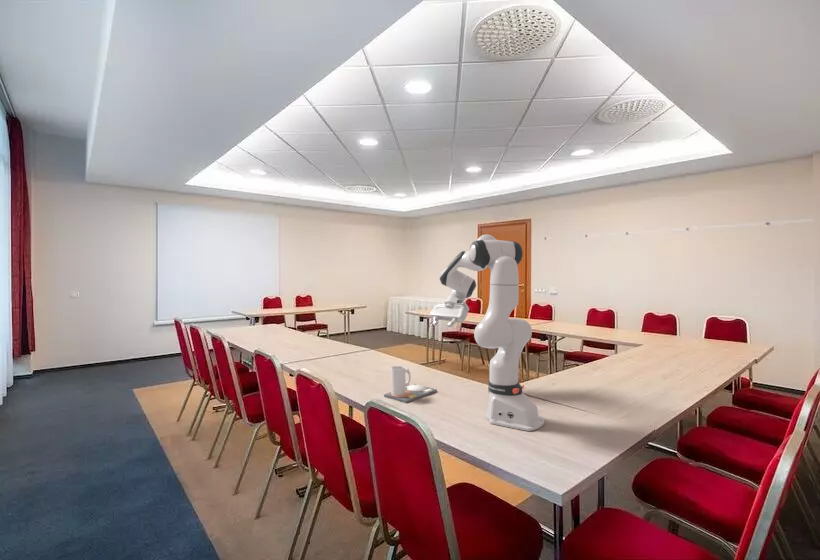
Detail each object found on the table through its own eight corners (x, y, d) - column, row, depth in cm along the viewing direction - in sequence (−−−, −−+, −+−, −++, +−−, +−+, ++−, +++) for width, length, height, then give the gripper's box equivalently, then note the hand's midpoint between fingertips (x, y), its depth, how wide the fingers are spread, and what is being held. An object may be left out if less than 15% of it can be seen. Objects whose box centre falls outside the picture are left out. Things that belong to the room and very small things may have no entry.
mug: (395, 396, 179) (395, 370, 178) (388, 392, 184) (388, 367, 184) (414, 392, 184) (414, 367, 184) (407, 389, 189) (406, 364, 189)
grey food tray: (437, 391, 191) (437, 387, 190) (406, 403, 174) (406, 399, 174) (415, 386, 200) (415, 382, 200) (384, 396, 184) (384, 392, 184)
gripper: (434, 299, 207) (422, 319, 200) (467, 301, 193) (455, 323, 186) (439, 307, 210) (428, 327, 203) (472, 309, 196) (461, 331, 189)
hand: (441, 325), depth 195 cm, fingers open, 8 cm apart
